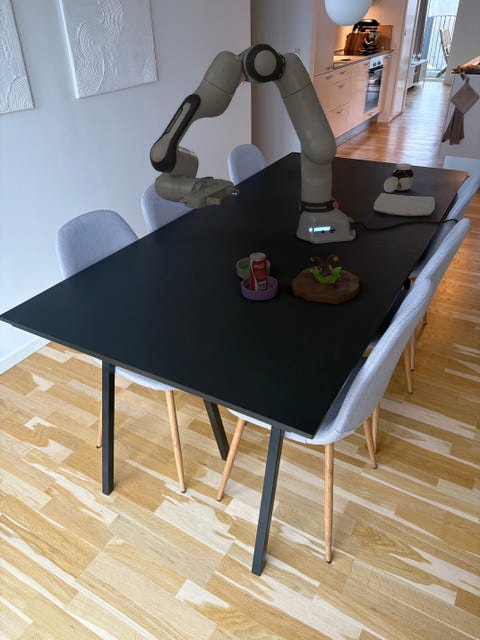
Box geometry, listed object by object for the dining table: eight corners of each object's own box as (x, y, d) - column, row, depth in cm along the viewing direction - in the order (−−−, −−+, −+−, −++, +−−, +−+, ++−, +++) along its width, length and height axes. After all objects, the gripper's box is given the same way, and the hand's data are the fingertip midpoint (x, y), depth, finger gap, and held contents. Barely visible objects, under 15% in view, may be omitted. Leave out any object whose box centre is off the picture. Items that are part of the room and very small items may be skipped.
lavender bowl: (277, 283, 151) (277, 274, 149) (277, 301, 141) (277, 291, 140) (242, 284, 152) (242, 275, 150) (240, 301, 142) (239, 291, 141)
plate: (369, 215, 199) (370, 209, 197) (378, 197, 218) (379, 192, 216) (432, 221, 190) (433, 214, 189) (435, 202, 209) (436, 196, 208)
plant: (344, 310, 135) (347, 274, 129) (282, 295, 144) (282, 261, 139) (368, 281, 149) (371, 248, 143) (310, 269, 159) (312, 237, 153)
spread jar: (413, 189, 227) (417, 164, 220) (406, 195, 219) (410, 170, 212) (388, 186, 232) (391, 161, 226) (381, 192, 224) (384, 167, 218)
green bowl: (270, 265, 162) (270, 256, 161) (269, 280, 153) (269, 271, 151) (238, 265, 163) (237, 257, 162) (235, 280, 154) (235, 271, 152)
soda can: (249, 288, 148) (248, 252, 142) (266, 286, 149) (265, 251, 142) (251, 296, 144) (249, 259, 138) (268, 294, 144) (267, 258, 138)
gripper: (174, 191, 150) (208, 196, 143) (212, 174, 164) (246, 179, 157) (176, 210, 153) (210, 217, 146) (214, 192, 167) (247, 198, 160)
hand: (229, 197), depth 152 cm, fingers open, 8 cm apart
